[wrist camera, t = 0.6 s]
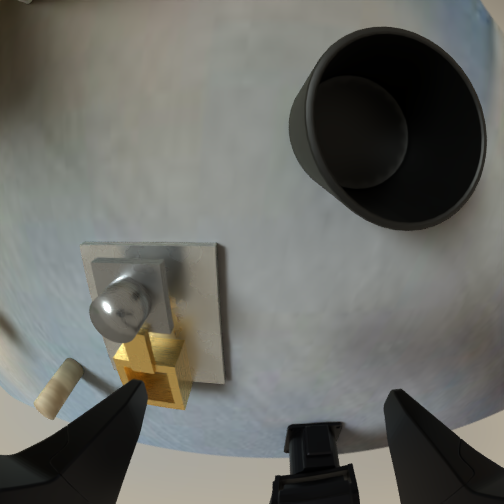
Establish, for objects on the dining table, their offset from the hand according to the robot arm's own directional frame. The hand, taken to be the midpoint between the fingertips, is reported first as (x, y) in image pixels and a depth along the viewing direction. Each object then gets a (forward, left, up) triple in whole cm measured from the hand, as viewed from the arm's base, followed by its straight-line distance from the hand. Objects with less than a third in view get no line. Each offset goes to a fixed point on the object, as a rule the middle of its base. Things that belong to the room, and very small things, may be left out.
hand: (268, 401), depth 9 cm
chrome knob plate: (-6, +10, -14) cm, 18 cm away
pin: (-15, +23, -14) cm, 31 cm away
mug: (+9, -7, -14) cm, 18 cm away
